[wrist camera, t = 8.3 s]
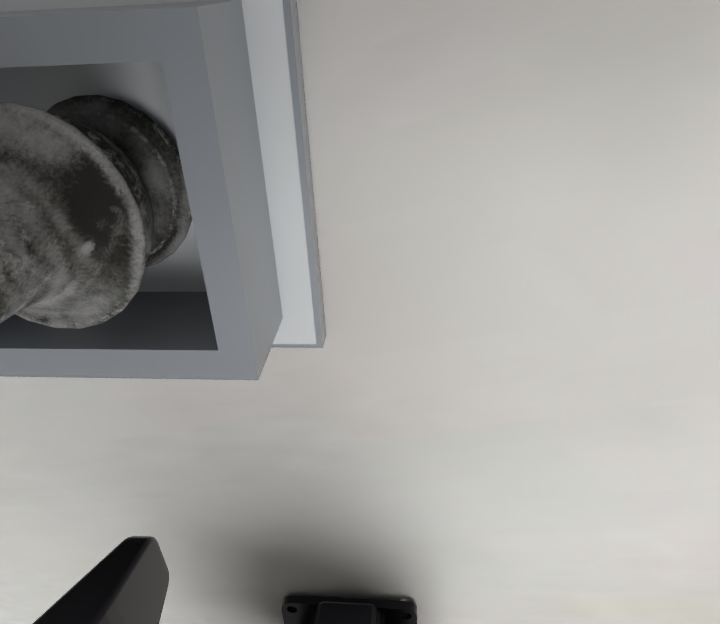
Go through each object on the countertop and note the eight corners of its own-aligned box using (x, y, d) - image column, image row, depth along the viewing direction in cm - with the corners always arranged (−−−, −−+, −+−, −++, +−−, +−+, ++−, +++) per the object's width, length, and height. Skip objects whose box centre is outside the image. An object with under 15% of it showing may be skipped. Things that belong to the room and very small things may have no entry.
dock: (325, 335, 21) (305, 415, 17) (12, 333, 22) (-71, 407, 19) (290, -60, 15) (247, -69, 11) (-134, -34, 16) (-301, -35, 13)
